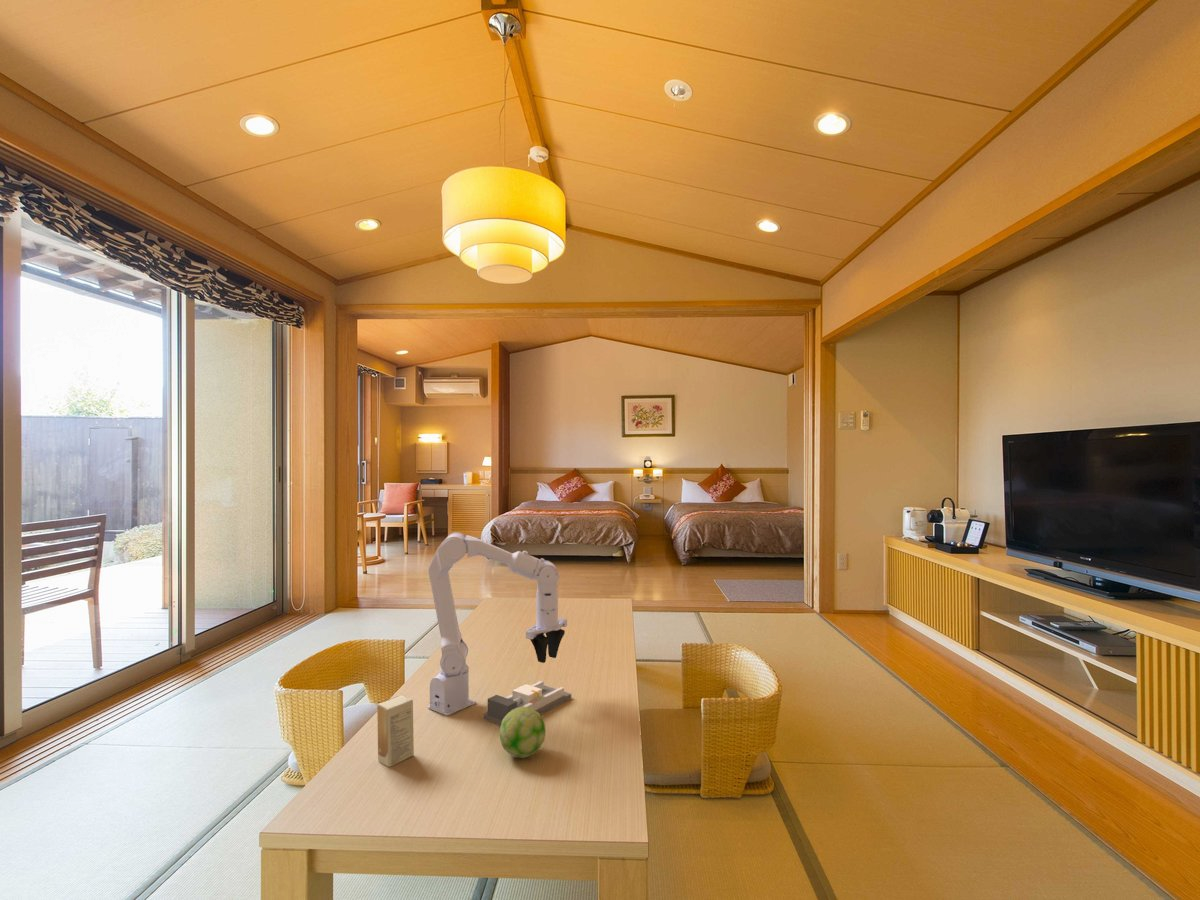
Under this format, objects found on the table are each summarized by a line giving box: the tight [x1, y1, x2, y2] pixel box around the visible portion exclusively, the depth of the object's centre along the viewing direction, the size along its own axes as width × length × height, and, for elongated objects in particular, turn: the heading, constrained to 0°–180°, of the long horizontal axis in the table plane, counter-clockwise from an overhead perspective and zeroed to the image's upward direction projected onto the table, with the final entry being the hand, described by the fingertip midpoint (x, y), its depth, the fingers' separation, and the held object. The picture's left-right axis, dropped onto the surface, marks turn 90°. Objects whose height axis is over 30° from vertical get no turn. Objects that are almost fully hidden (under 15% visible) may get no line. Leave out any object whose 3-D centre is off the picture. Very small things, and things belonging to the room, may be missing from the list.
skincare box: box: [376, 694, 415, 768], centre depth 124 cm, size 6×4×12 cm
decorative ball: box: [499, 707, 546, 759], centre depth 125 cm, size 10×10×10 cm
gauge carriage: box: [511, 683, 542, 707], centre depth 146 cm, size 8×7×4 cm
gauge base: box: [482, 680, 572, 726], centre depth 148 cm, size 22×10×5 cm, turn 144°
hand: (547, 659), depth 154 cm, fingers open, 4 cm apart
